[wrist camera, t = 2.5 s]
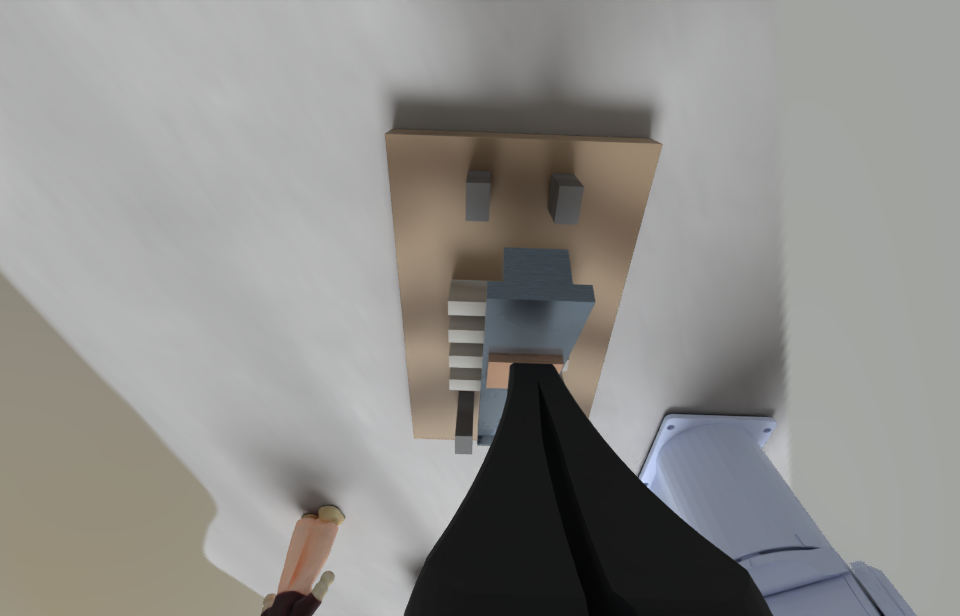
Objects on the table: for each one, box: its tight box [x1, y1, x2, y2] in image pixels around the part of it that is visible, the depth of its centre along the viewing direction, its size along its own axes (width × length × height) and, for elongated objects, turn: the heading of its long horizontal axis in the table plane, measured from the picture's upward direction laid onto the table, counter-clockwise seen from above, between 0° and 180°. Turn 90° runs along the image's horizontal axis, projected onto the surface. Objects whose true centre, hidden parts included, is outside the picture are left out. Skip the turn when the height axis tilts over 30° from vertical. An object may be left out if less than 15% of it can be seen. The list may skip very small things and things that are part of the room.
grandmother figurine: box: [261, 506, 345, 616], centre depth 31 cm, size 8×4×13 cm, turn 136°
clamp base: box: [385, 129, 662, 454], centre depth 21 cm, size 20×12×5 cm, turn 178°
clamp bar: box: [477, 247, 596, 446], centre depth 17 cm, size 15×3×2 cm, turn 178°
